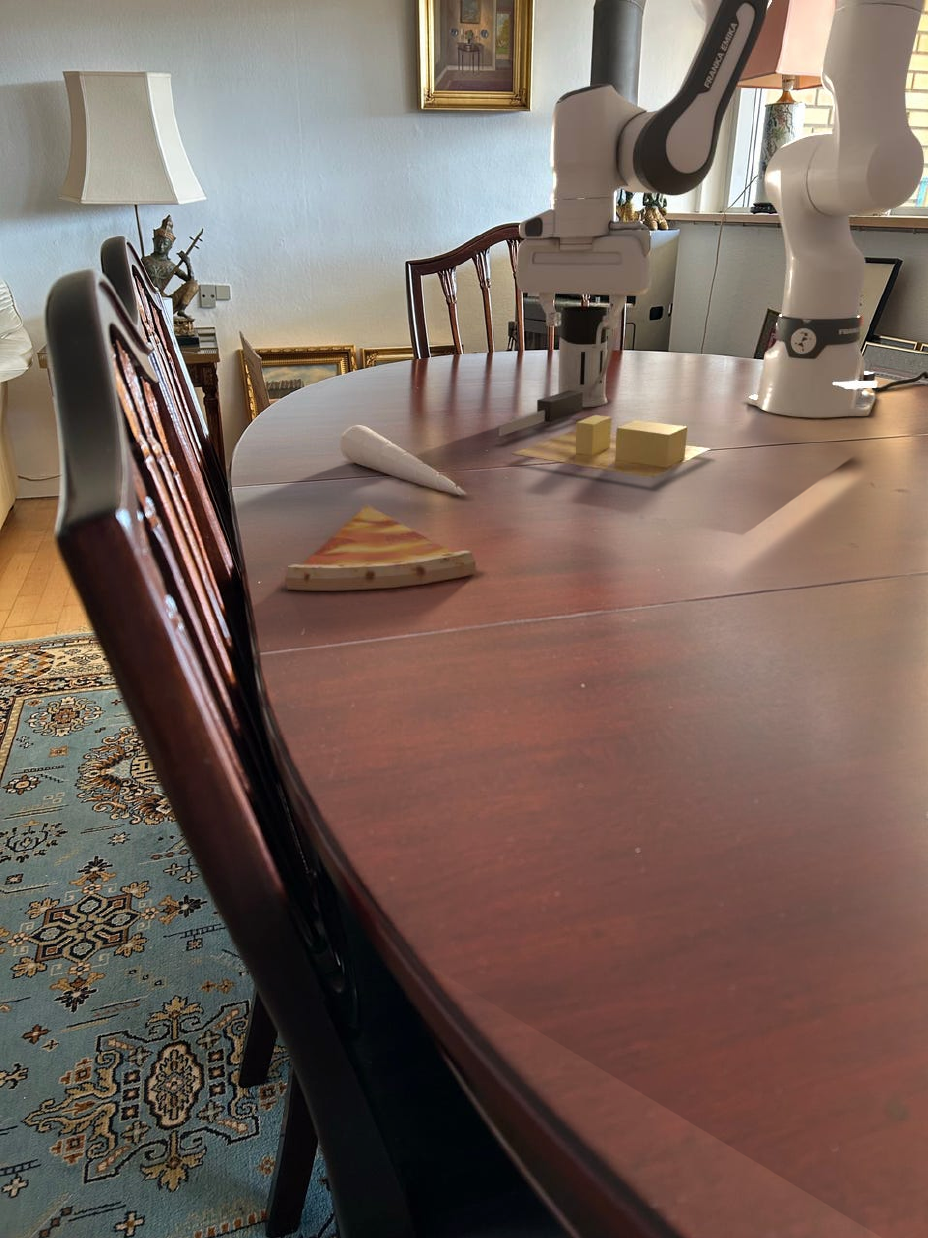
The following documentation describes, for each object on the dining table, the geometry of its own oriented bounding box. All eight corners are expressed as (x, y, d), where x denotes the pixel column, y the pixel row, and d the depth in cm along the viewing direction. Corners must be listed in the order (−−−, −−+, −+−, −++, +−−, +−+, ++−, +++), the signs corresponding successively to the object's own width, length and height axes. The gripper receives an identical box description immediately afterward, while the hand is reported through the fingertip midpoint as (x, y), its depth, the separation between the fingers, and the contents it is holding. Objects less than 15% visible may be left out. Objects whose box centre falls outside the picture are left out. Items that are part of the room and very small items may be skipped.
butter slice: (593, 445, 117) (594, 414, 116) (609, 447, 116) (611, 416, 115) (575, 453, 114) (576, 422, 112) (592, 455, 112) (593, 424, 111)
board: (576, 439, 127) (576, 429, 126) (709, 459, 115) (710, 448, 115) (511, 464, 115) (511, 453, 115) (652, 489, 104) (653, 477, 103)
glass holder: (593, 395, 156) (596, 304, 149) (632, 410, 143) (637, 312, 137) (547, 399, 153) (548, 307, 147) (582, 415, 141) (586, 315, 135)
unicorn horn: (439, 505, 100) (437, 463, 98) (339, 463, 118) (336, 426, 116) (473, 497, 102) (472, 456, 100) (370, 457, 120) (368, 421, 118)
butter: (633, 451, 114) (635, 419, 113) (684, 458, 110) (687, 426, 109) (614, 459, 111) (616, 427, 109) (666, 467, 107) (669, 434, 105)
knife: (568, 418, 139) (569, 390, 137) (581, 420, 138) (582, 391, 136) (493, 444, 125) (493, 413, 123) (507, 447, 124) (507, 415, 122)
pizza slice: (507, 520, 95) (507, 502, 94) (459, 603, 75) (458, 581, 74) (367, 512, 98) (365, 495, 97) (286, 590, 79) (284, 569, 78)
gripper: (662, 219, 119) (657, 327, 124) (534, 222, 130) (535, 321, 136) (640, 221, 114) (635, 333, 120) (509, 224, 126) (511, 327, 132)
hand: (581, 327), depth 128 cm, fingers open, 8 cm apart
